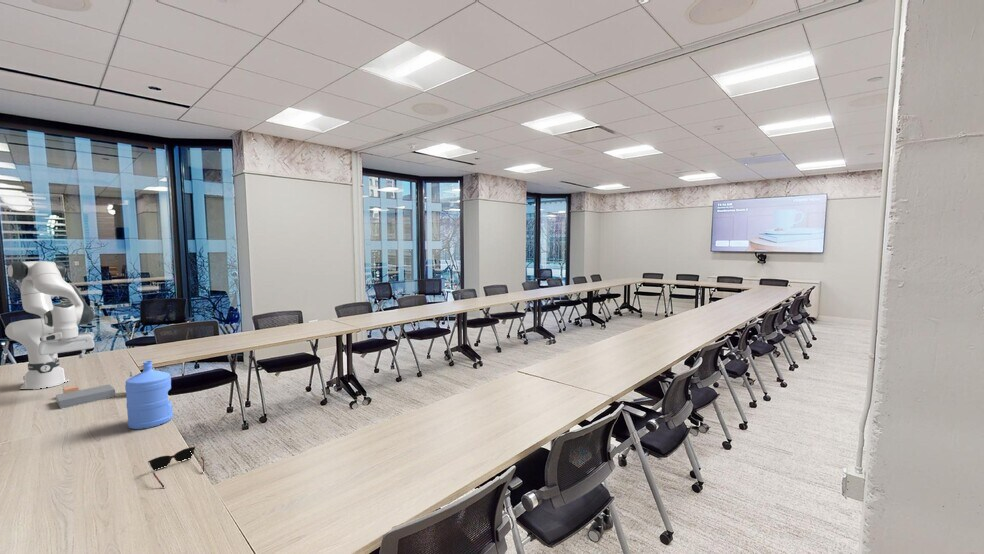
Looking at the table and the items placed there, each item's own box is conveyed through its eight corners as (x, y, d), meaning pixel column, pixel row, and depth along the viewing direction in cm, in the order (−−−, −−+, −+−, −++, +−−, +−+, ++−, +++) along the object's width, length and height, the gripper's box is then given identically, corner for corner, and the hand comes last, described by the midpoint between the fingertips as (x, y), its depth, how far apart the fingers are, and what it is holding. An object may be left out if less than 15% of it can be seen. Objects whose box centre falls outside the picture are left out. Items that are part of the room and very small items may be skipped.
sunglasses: (195, 458, 150) (195, 445, 150) (208, 476, 140) (208, 463, 140) (148, 473, 140) (147, 460, 139) (158, 494, 130) (157, 480, 129)
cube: (63, 397, 211) (63, 387, 210) (77, 394, 215) (76, 385, 214) (65, 399, 208) (64, 389, 207) (78, 396, 212) (78, 387, 211)
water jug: (147, 431, 171) (143, 368, 169) (118, 428, 174) (114, 365, 172) (181, 416, 186) (178, 358, 184) (154, 413, 190) (151, 356, 188)
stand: (56, 402, 203) (55, 395, 202) (109, 391, 219) (109, 384, 218) (60, 408, 195) (59, 400, 195) (115, 396, 211) (114, 389, 211)
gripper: (92, 330, 219) (94, 354, 220) (36, 336, 203) (38, 363, 203) (95, 331, 215) (97, 356, 216) (38, 338, 199) (40, 365, 200)
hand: (68, 360), depth 210 cm, fingers open, 8 cm apart
